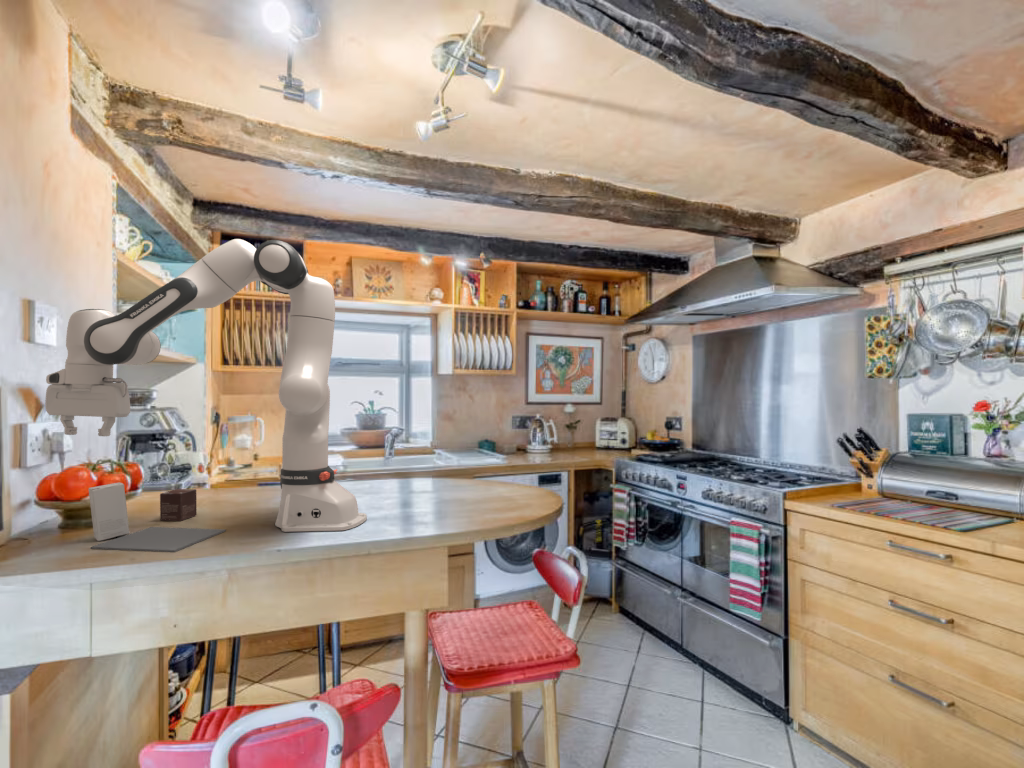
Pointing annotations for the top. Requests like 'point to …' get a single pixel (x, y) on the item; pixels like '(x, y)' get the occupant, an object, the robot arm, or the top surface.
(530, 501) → the top surface
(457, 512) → the top surface
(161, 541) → the mat
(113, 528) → the skincare box
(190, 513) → the box
